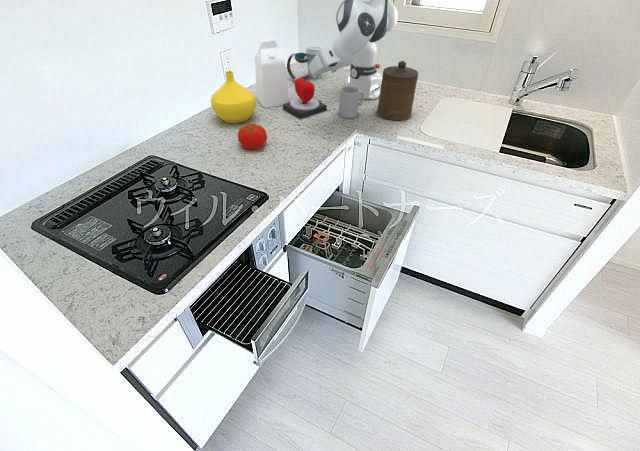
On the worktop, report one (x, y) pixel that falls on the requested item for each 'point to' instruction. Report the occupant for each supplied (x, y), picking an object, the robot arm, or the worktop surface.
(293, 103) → the scale
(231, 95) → the vase
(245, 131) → the tomato
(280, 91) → the milk
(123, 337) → the worktop surface
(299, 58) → the headphones
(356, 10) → the robot arm
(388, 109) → the wooden container
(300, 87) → the heart
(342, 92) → the mug
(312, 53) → the disposable coffee cup
